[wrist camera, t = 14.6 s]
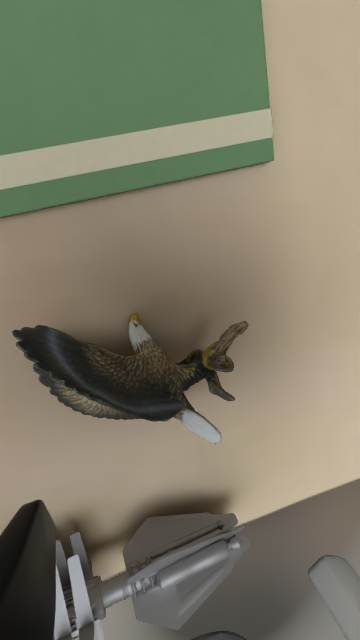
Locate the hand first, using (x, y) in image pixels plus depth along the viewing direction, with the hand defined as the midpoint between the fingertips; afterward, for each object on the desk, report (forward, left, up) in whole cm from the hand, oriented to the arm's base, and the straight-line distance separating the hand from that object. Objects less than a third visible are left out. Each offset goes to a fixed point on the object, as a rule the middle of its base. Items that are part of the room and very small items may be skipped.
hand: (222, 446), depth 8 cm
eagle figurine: (-2, -1, -10) cm, 10 cm away
